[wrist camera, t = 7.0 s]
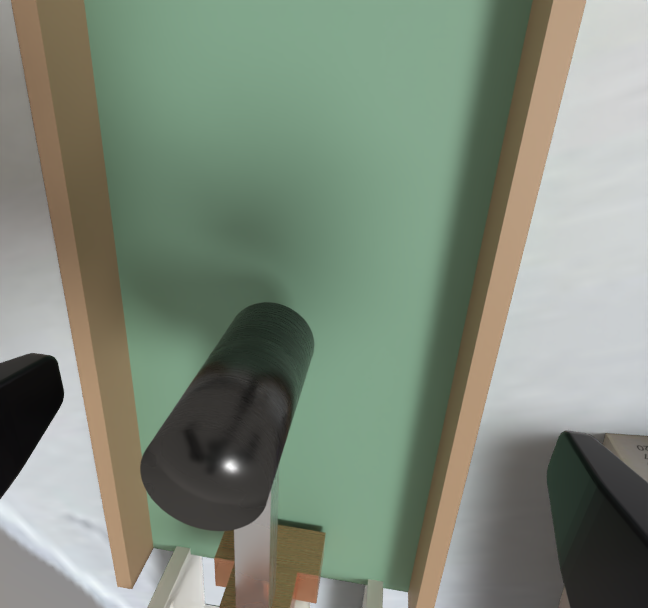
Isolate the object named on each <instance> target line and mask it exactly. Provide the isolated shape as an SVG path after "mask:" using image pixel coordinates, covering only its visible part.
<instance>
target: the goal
mask: <svg viewBox="0 0 648 608" xmlns="http://www.w3.org/2000/svg"><path fill="white" fill-rule="evenodd" d="M382 603H383V582H382V581H377V580H371V579H368V585H365V591H364V598H363V604H362V608H382ZM147 608H219V607H217V606H212V605H206V604H205V594H204V579H203V564H202V556H197V555H191V552H190V548H185V547H180V546H176V548H175V550H174V552H173V555H172V557H171V559H170V561H169V563H168V565H167V567H166V569H165V571H164V573H163V576H162V578H161V580H160V582H159V584H158V586H157V588H156V590H155V592H154V595H153V597H152V599H151V601H150V603H149V605H148V607H147Z"/></svg>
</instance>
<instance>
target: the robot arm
mask: <svg viewBox="0 0 648 608" xmlns="http://www.w3.org/2000/svg"><path fill="white" fill-rule="evenodd" d="M63 398H64V389H63V384H62V380H61V375H60V371H59V366H58V362H57V360H56V359H55V358H54V357H53V356H51V355H44V354H37V353H30V354H26V355H23V356H20V357H17V358H14V359H11V360H8V361H5V362H2V363H0V499H1V498H2V496H3V495H4V494H5V492H6V491H7V490H8V488H9V487H10V486H11V484H12V483H13V481H14V480H15V479H16V477H17V476H18V474H19V473H20V471H21V470H22V468H23V467H24V465H25V464H26V462H27V460H28V459H29V457H30V455H31V454H32V452H33V450H34V449H35V447H36V446H37V444H38V442H39V441H40V439H41V437H42V436H43V434H44V433H45V431H46V429H47V428H48V426H49V424H50V423H51V421H52V420H53V418H54V416H55V415H56V413H57V411H58V410H59V408H60V406H61V404H62V402H63ZM547 485H548V491H549V498H550V505H551V512H552V518H553V525H554V532H555V538H556V545H557V552H558V558H559V563H560V569H561V574H562V578H563V582H564V586H565V590H566V594H567V597H568V601H569V605H570V608H648V482H647V481H646V480H645V479H643V478H642V477H641V476H640V475H639V474H637V473H636V472H635V471H634V470H632V469H631V468H630V467H629V466H628V465H626V464H625V463H624V462H623V461H622V460H620V459H619V458H618V457H617V456H616V455H614V454H613V453H612V452H611V451H610V450H608V449H607V448H606V447H605V446H604V445H602V444H601V443H600V442H599V441H598V440H596V439H595V438H594V437H593V436H591V435H589V434H587V433H580V432H573V431H564V432H562V433H561V434H560V436H559V438H558V440H557V443H556V446H555V449H554V451H553V454H552V457H551V460H550V463H549V465H548V469H547Z"/></svg>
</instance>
